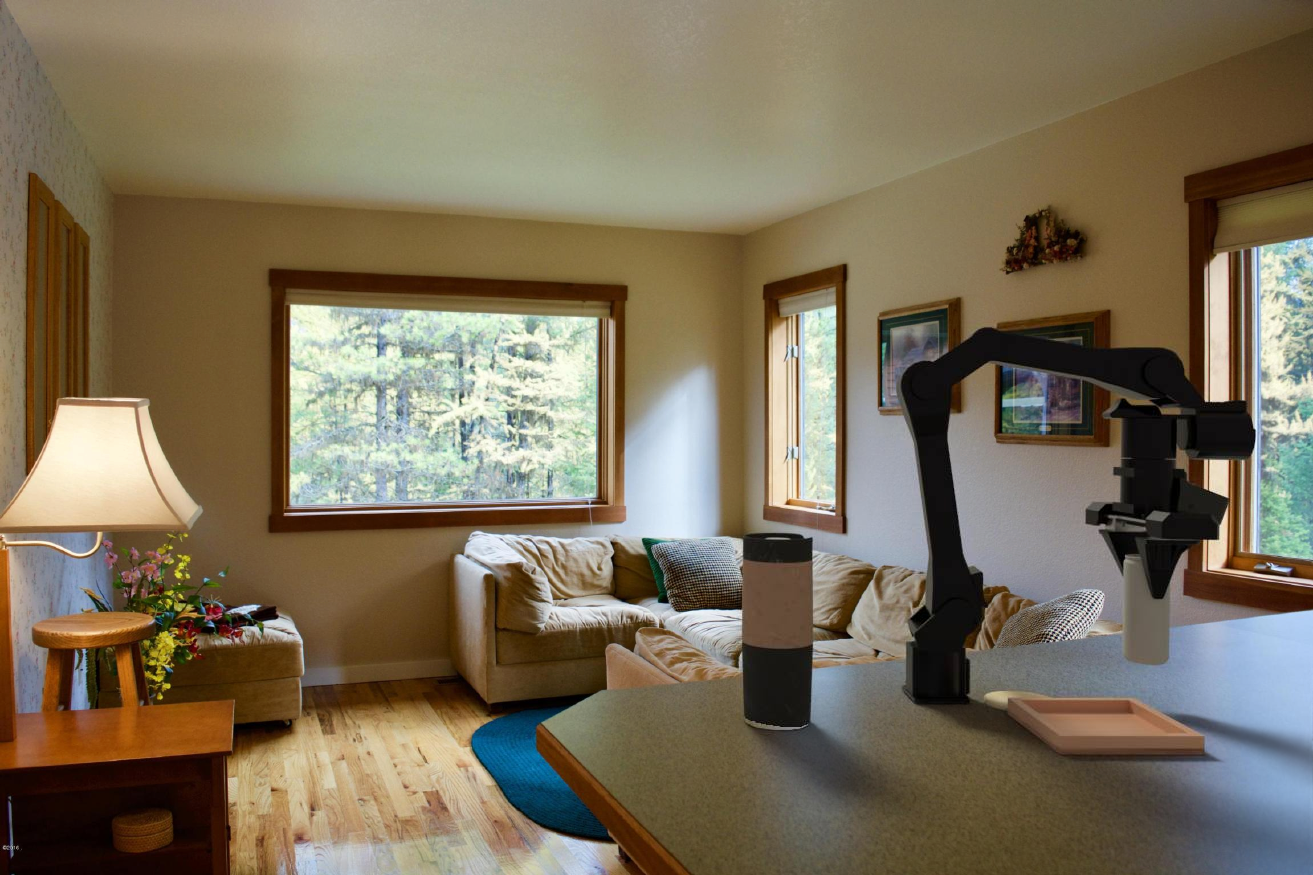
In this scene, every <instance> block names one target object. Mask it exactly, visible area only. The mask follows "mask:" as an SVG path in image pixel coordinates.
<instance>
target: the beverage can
mask: <svg viewBox="0 0 1313 875" xmlns="http://www.w3.org/2000/svg"><path fill="white" fill-rule="evenodd" d="M1125 558H1126V559H1125V560H1124V574H1123V576H1122V577H1123V578H1122V579H1123V580H1122V581H1123V582H1122V583H1123V584H1122V645H1121V647H1122V648H1121V652H1122V653H1121V655H1122V656H1123V657H1124V659H1125V660H1126V661H1128V662H1130V663H1133V664H1139V665H1144V666H1146V665H1147V666H1163V665H1165V664H1166V663H1167V662H1168V661H1169V659H1170V626H1171V625H1170V619H1171V616H1170V615H1171V612H1170V610H1171V582H1170V583H1169V586H1168V588H1167V591H1166V594H1165V596H1164V598H1163V599H1153V598H1152V595H1151V592H1150V589H1149V586H1148V583H1147V579H1146V576H1145V572H1144V568H1143V565H1142V561H1141V557H1140V554H1127V555H1125Z"/></svg>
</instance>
